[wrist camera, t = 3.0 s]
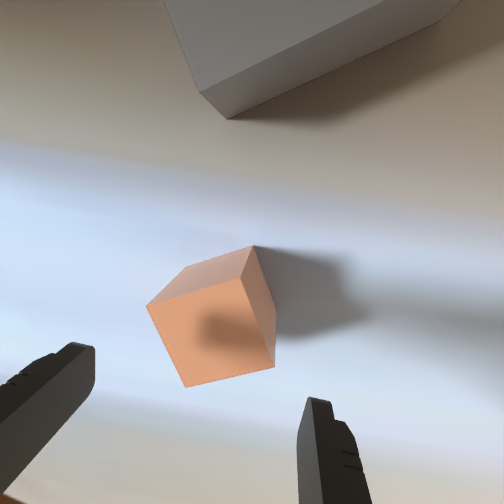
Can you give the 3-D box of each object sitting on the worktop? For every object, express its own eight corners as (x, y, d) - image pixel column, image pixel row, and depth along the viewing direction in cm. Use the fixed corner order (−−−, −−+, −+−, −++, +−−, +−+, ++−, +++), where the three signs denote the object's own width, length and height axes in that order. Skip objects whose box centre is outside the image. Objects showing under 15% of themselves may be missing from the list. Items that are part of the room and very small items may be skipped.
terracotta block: (212, 327, 20) (185, 388, 15) (186, 266, 19) (145, 306, 13) (276, 310, 19) (274, 367, 14) (253, 245, 18) (239, 277, 13)
